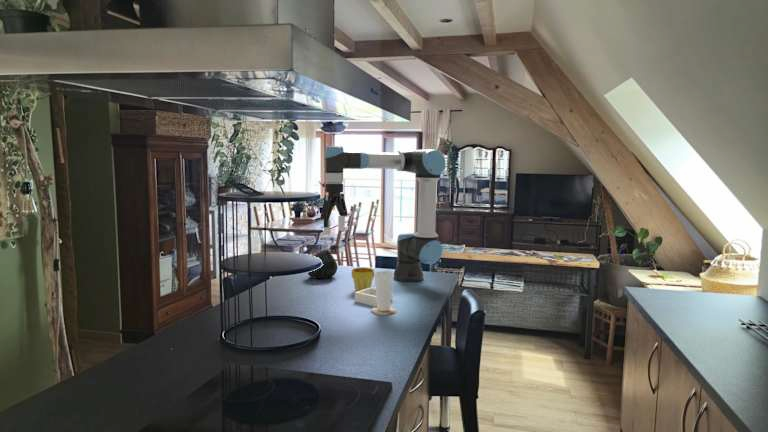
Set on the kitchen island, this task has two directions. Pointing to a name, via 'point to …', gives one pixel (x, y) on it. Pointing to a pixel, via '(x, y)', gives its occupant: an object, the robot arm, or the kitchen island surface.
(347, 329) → the kitchen island surface
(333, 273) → the squash
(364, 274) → the plant pot
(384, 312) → the wooden coaster
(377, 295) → the white cup
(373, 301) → the square holder
